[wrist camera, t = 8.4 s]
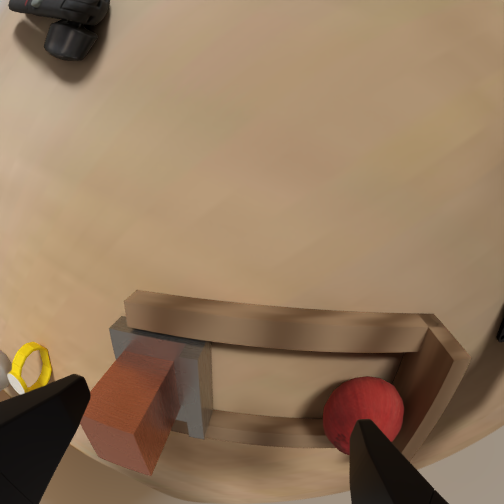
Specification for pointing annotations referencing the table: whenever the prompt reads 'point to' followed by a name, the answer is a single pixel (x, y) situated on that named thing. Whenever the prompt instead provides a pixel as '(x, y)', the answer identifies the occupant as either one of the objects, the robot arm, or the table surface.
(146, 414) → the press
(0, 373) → the salt shaker
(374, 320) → the bench
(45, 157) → the table surface
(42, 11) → the can opener
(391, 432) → the onion
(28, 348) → the watch
